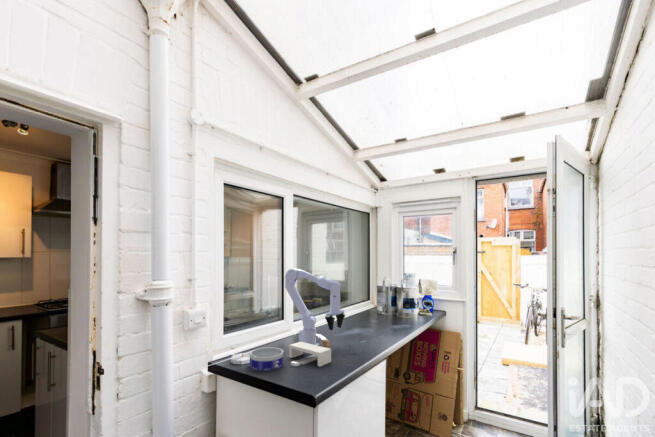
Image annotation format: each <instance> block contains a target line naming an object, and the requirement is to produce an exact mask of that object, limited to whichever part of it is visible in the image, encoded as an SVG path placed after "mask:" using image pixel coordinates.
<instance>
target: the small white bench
mask: <svg viewBox="0 0 655 437" xmlns="http://www.w3.org/2000/svg"><path fill="white" fill-rule="evenodd" d="M288 347H289V348H288V349H289V350H288V351H289V352H288V353H289V354H288V358H290V359H292V358H296V357H299V356H301V355H303V353H306V354H310V355H317V356H318V359H317V367H323V366H324V365H328V364H330V363H331V362H332V348H331V349H330V348H325V347H322V345H321V346H320V345H313V344H309V343H305V342H299V341H298V342H295V343H291V344H289V346H288Z"/></svg>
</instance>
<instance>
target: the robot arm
mask: <svg viewBox="0 0 655 437" xmlns="http://www.w3.org/2000/svg"><path fill="white" fill-rule="evenodd" d="M284 278H285V280H284V283H285V284H284V286H285V287H284V288H285V290H286V291H287V293H288V295H289V297H290V298H291V301H292V302H293V304H294V306H295V308H296V309H297V312H298V313H299V315H300V319H301V321H302V326H303V327H300V329H299V332H298V342H305V343H309V344H313V345H317V346H320V343H317V336H316V334H317V328H316V323H317V318H316V317H315V316H314V315H313V314H312V312H311V311H310V310H309V309H308V308H307V305H306V304H305V302H304V300H303V298H302V297H301V295H300V293H299V291H298V290H297V288H296V283H297V280H298V279H303V278H304V279H306V280H309V281H312V282H314V283H316V284H317V286H319V287H321V288H324V289H325V290H327V291H328V290H329V291H330V295H329V306H330V307H329V311H328V312H326V313H325V317H324V319H325V320H326V323H327V326H328V330H329V331H333V330H334V323H335V319H336V326H337V328H342V324H343V321H344V319H345V318H346V314H345V310H344V309H341V291H340V290H341V284H340V283H339V281H336V280H334V279H329V278H327V276H325V275H321V276H317V275H315V274H312V273H310V272H309V271H306V270H304V269H303V270H302V269H300V268H296V267H293V268H289V269H287V271H286V273H285V275H284ZM334 316H335V317H334Z"/></svg>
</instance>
